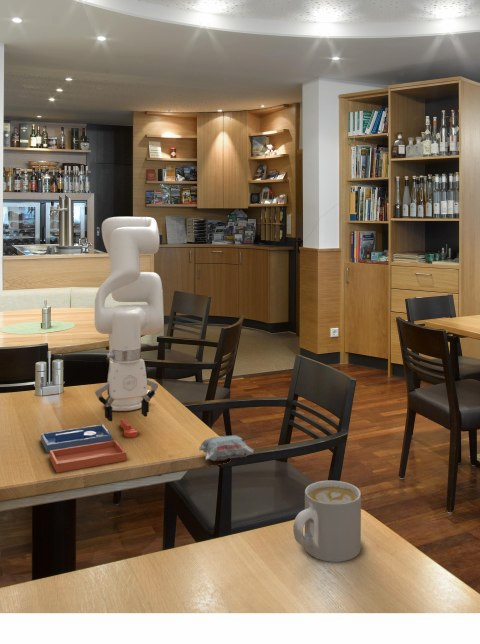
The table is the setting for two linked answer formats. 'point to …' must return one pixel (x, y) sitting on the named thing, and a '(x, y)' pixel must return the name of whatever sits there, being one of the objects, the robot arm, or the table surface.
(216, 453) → the packaged food
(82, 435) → the blue spoon
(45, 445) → the blue tray
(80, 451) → the red tray
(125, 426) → the red spoon
